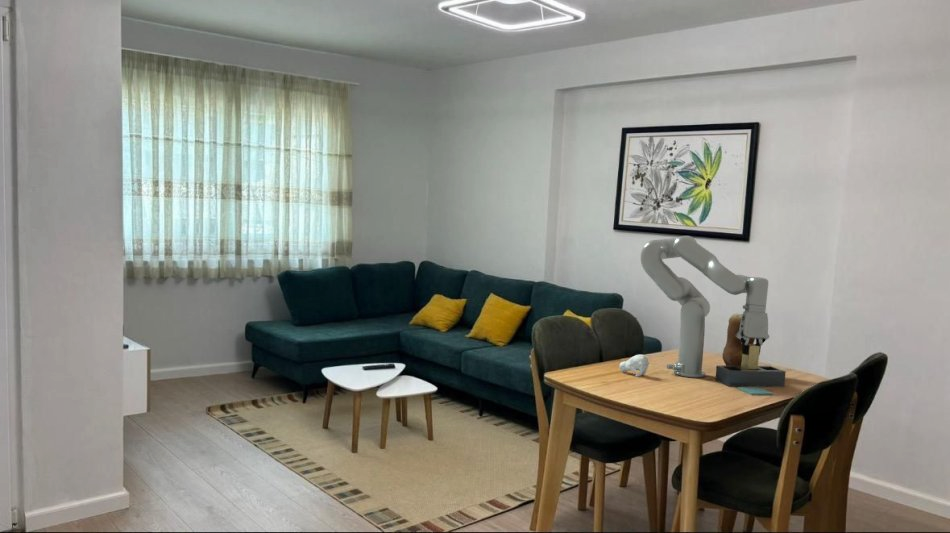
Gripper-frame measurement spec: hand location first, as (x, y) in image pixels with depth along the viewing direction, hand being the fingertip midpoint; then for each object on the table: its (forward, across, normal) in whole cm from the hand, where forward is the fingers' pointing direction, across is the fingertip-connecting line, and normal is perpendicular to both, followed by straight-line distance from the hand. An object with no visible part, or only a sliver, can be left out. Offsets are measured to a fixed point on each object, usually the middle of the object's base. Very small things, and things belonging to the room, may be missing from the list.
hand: (750, 354), depth 285 cm
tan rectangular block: (+7, 0, 0) cm, 7 cm away
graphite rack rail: (+12, 0, 0) cm, 12 cm away
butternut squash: (+12, +6, +18) cm, 22 cm away
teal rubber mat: (+12, -6, -13) cm, 19 cm away
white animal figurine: (+13, -42, +15) cm, 47 cm away
